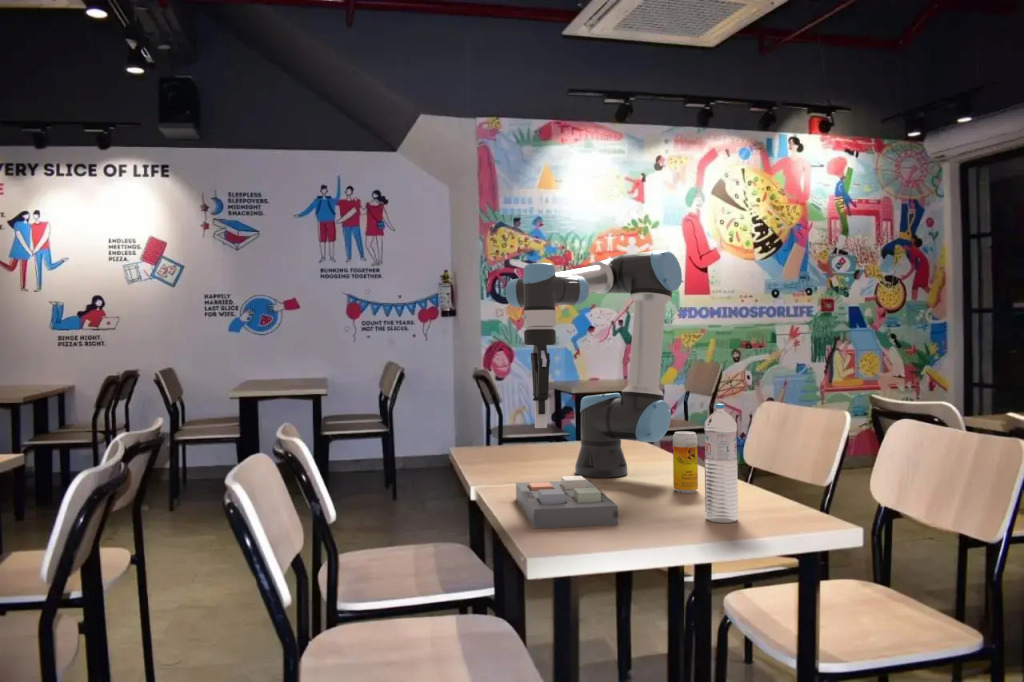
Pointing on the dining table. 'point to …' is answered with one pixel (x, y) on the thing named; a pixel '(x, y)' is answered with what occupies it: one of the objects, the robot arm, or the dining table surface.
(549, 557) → the dining table surface
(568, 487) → the cream key
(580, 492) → the sage key
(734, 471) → the water bottle
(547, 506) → the keypad
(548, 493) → the slate key
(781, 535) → the dining table surface
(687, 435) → the beer can
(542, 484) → the terracotta key
